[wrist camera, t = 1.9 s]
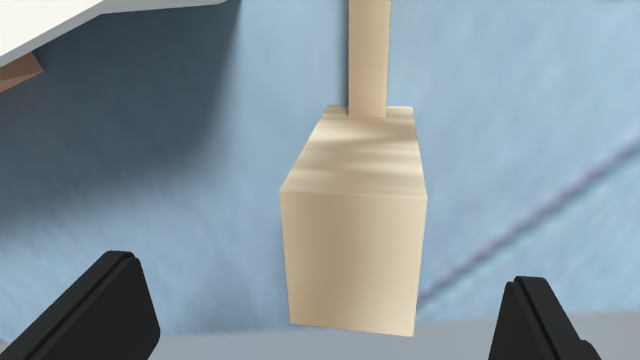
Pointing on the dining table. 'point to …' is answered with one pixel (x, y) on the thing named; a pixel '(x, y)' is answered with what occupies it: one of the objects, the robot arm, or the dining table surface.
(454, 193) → the dining table surface
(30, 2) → the shelf cubby
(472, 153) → the dining table surface
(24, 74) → the block
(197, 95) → the dining table surface
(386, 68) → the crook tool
